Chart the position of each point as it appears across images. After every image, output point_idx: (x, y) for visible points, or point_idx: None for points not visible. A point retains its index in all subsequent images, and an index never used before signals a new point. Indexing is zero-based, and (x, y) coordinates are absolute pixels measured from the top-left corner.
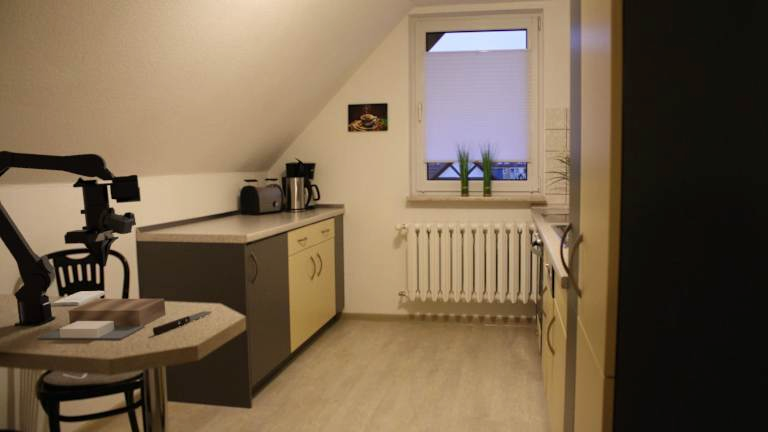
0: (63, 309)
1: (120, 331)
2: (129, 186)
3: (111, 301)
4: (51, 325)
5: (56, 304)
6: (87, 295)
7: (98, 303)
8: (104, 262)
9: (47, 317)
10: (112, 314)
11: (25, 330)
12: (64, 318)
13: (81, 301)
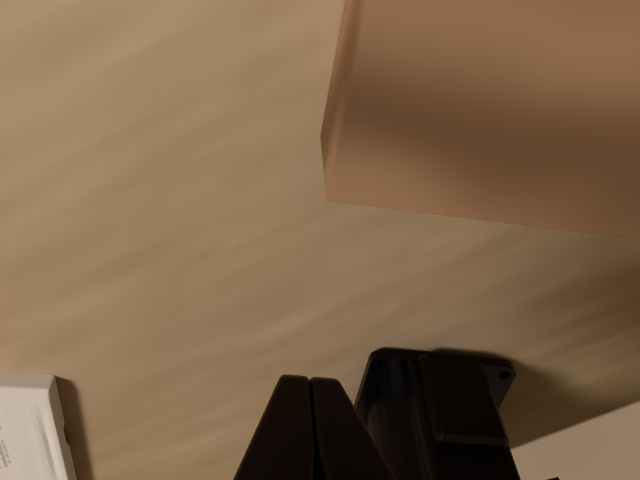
0: (153, 404)
1: None
2: None
3: (481, 11)
4: (520, 304)
5: (71, 471)
6: None
7: (522, 114)
8: (332, 429)
9: (462, 368)
10: None
11: (576, 372)
12: (370, 311)
13: (17, 387)
